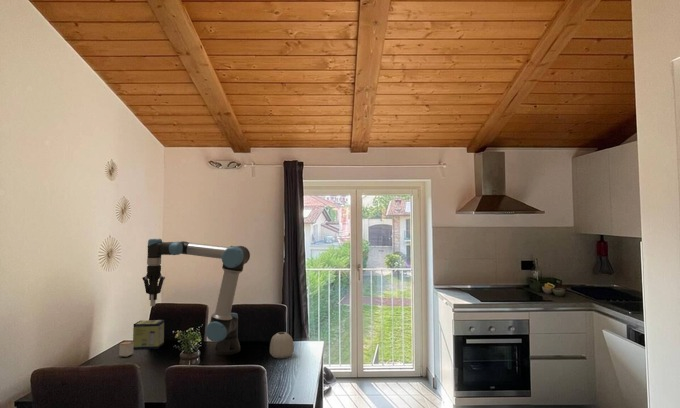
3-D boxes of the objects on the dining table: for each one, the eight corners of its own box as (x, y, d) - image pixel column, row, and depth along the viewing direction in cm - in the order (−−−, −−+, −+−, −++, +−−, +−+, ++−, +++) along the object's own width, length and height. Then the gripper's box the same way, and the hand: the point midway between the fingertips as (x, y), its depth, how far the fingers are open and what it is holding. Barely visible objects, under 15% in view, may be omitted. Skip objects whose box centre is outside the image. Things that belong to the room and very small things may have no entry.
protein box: (138, 344, 249) (139, 320, 250) (164, 344, 251) (164, 319, 252) (132, 349, 239) (132, 324, 240) (158, 348, 240) (159, 323, 241)
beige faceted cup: (133, 353, 228) (133, 341, 229) (127, 356, 223) (128, 344, 223) (124, 353, 228) (125, 341, 229) (119, 355, 223) (119, 344, 224)
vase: (281, 351, 233) (281, 328, 234) (298, 355, 225) (298, 332, 226) (264, 357, 222) (264, 333, 223) (281, 362, 214) (282, 337, 215)
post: (129, 355, 227) (130, 343, 227) (126, 357, 224) (127, 344, 225) (125, 355, 227) (125, 343, 228) (122, 356, 224) (123, 344, 225)
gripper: (168, 264, 230) (166, 304, 229) (147, 264, 231) (146, 304, 230) (161, 265, 223) (159, 307, 221) (139, 265, 224) (138, 306, 222)
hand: (152, 305), depth 225 cm, fingers closed
